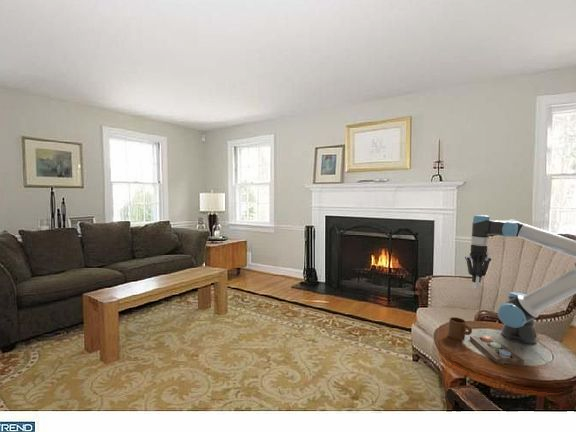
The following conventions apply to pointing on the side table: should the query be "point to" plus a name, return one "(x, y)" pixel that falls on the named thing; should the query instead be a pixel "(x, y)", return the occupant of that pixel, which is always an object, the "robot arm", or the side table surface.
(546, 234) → the robot arm
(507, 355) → the blue button
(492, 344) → the sage button
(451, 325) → the mug
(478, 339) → the button panel
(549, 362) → the side table surface
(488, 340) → the terracotta button
